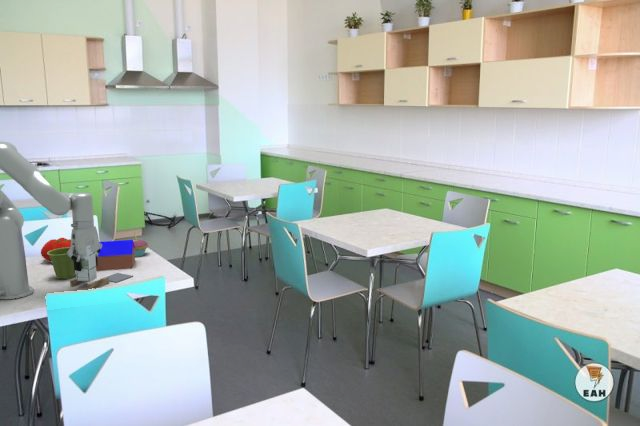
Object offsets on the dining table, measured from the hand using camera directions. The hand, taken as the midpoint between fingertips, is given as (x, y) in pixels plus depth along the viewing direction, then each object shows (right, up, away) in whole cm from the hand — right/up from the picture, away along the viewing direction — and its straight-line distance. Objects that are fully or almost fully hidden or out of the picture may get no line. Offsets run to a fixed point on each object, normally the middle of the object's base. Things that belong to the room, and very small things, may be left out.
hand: (86, 267), depth 217 cm
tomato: (-27, 0, +37) cm, 46 cm away
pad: (+8, -5, +10) cm, 14 cm away
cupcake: (+6, +1, +45) cm, 45 cm away
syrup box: (0, -5, +1) cm, 5 cm away
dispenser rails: (+1, -7, +2) cm, 7 cm away
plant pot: (-14, -5, +12) cm, 19 cm away
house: (0, -2, +27) cm, 27 cm away
